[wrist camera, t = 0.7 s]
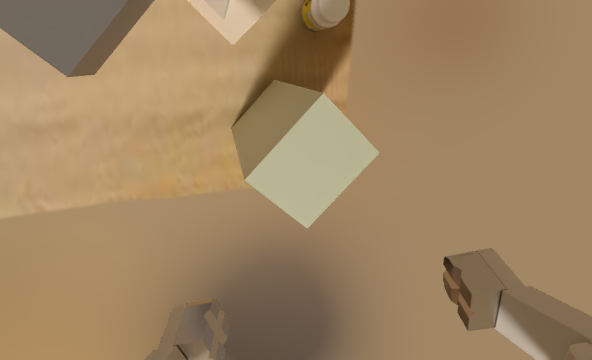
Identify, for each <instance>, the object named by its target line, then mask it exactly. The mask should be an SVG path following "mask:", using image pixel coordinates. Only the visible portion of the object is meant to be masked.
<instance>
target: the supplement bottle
mask: <svg viewBox="0 0 592 360" xmlns="http://www.w3.org/2000/svg"><path fill="white" fill-rule="evenodd" d="M349 6H350V1H349V0H305V1H304V2H303V4H302V6H301V10H300V17H301V20H302V23H303V24H304V26H305V27H306V28H307V29H309V30H311V31H321V30H324V29H327V28H330V27H333V26H335V25H337V24H338V23H339V22H340V21H341V20H342V19H343V18H344V17H345V16H346V15H347V13H348V11H349Z"/></svg>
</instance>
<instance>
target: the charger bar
mask: <svg viewBox="0 0 592 360" xmlns="http://www.w3.org/2000/svg"><path fill="white" fill-rule="evenodd" d="M153 1H154V0H0V28H1V29H2V30H4V31H5V32H6V33H8V34H9V35H10V36H12V37H13V38H15V39H16V40H17V41H19V42H20V43H22V44H23V45H24V46H26V47H27V48H28V49H30V50H31V51H33V52H34V53H35V54H37V55H38V56H39V57H41V58H42V59H44V60H45V61H46V62H48V63H49V64H50V65H52V66H53V67H55V68H56V69H57V70H59V71H60V72H61V73H63V74H64V75H66V76H67V77H73V76H84V75H95V74H96V72H97V71H98V70H99V69H100V67H101V66H102V65H103V64H104V62H105V61H106V60H107V59H108V57H109V56H110V55H111V54H112V52H113V51H114V50H115V49H116V47H117V46H118V45H119V44H120V42H121V41H122V40H123V39H124V37H125V36H126V35H127V34H128V32H129V31H130V30H131V29H132V27H133V26H134V25H135V24H136V22H137V21H138V20H139V19H140V17H141V16H142V15H143V14H144V12H145V11H146V10H147V9H148V7H149V6H150V5H151V4H152V2H153Z"/></svg>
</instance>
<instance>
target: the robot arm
mask: <svg viewBox="0 0 592 360" xmlns="http://www.w3.org/2000/svg"><path fill="white" fill-rule="evenodd" d="M443 265H444V266H445V268H446V271H445V272H444V273H443V282H444V287H445V290H446V292H447V294H448V296H449V298H450V300H451V301H452V302H454V303H455V304H457V305H458V314H459V316H460V318H461V320H462V322H463V323H464V325H465V327H466V329H467V330H468V331H472V330H480V329H487V328H495V327H496V328H495V329H496V330H497V331H499V332H500V333H501V334H503V335H504V336H505V337H507V338H508V339H509V340H511V341H512V342H513V343H515V344H516V345H517V346H519V347H520V348H521V349H523V350H524V351H525V352H527V353H528V354H529V355H531V356H532V357H534V358H535V359H536V360H592V316H590V315H588V314H586V313H584V312H582V311H580V310H578V309H576V308H573V307H572V306H570V305H568V304H566V303H564V302H562V301H559V300H558V299H556V298H554V297H552V296H550V295H548V294H546V293H544V292H542V291H539V290H538V289H535V288H534V287H532V286H527V287H525V285H524V284H523V283H522V282H521V281H520V280H519V278H518V277H517V276H516V275H515V274H514V273H513V272H512V270H511V269H510V268H509V267H508V265H507V264H506V263H505V262H504V261H503V260H502V259H501V257H500V256H499V255H498V254H497V253H496V252H495V250H493V249H492V248H489V249H483V250H479V251H471V252H466V253H461V254H456V255H451V256H446V257H445V258H444V262H443ZM219 308H220V303H219V302H218V300H217V299H211V300H204V301H197V302H191V303H185V304H179V305H175V306H174V308H173V309H172V311H171V313H170V316H169V319H168V322H167V325H166V328H165V330H164V333H163V336H162V338H161V341H160V344H159V347H158V349H156V350H153V351H152V352H151V353H150V354H149V355H148V357H147V358H146V359H145V360H224V356H225V350H224V348H223V346H222V345H223V344H224V343H225V341H226V340H227V337H228V331H229V330H228V320H227V316H226V314H225V312H223V311H221V310H219Z"/></svg>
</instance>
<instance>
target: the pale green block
mask: <svg viewBox="0 0 592 360" xmlns="http://www.w3.org/2000/svg"><path fill="white" fill-rule="evenodd" d="M231 129H232V133H233V137H234V141H235V145H236V149H237V153H238V157H239V160H240V164H241V168H242V172H243V176H244V180H245V181H246V182H248V183H249V184H250V185H251V186H253V187H254V188H255V189H257V190H258V191H259V192H261V193H262V194H263V195H264V196H266V197H267V198H268V199H270V200H271V201H272V202H274V203H275V204H276V205H277V206H279V207H280V208H281V209H282V210H284V211H285V212H287V213H288V214H289V215H290V216H292V217H293V218H294V219H296V220H297V221H298V222H299V223H301V224H302V225H303V226H305V227H306V228H308V227H309V226H310V225H311V224H312V223H313V222H314V221H315V220H316V219H317V218H318V217H319V216H320V215H321V214H322V213H323V212H324V210H325V209H326V208H327V207H328V206H329V205H330V204H331V203H332V202H333V201H334V200H335V199H336V198H337V197H338V196H339V195H340V193H342V192H343V191H344V190H345V188H346V187H347V186H348V185H349V184H350V183H351V182H352V181H353V180H354V179H355V178H356V177H357V176H358V175H359V174H360V172H362V171H363V170H364V169H365V167H366V166H367V165H368V164H369V163H370V162H371V161H372V160H373V159H374V158H375V157H376V156H377V155H378V154H379V152H378V151H377V150H376V149H375V148H374V147H373V146H372V145H371V143H370V142H369V141H368V140H367V139H366V138H365V137H364V136H363V135H362V134H361V133H360V132H359V131H358V129H357V128H356V127H355V126H354V125H353V124H352V123H351V122H350V121H349V120H348V119H347V118H346V117H345V115H344V114H343V113H342V112H341V111H340V110H339V109H338V108H337V107H336V106H335V105H334V104H333V103H332V101H331V100H330V99H329V98H328V97H327V96H326V95H325V94H324V93H322V92H318V91H314V90H311V89H307V88H303V87H300V86H296V85H292V84H289V83H285V82H281V81H277V80H273V81H272V83H271V84H270V85H269V86H268V87H267V88H266V89H265V90H264V92H263V93H262V94H261V95H260V96H259V97H258V98H257V100H256V101H255V102H254V103H253V104H252V105H251V106H250V108H249V109H248V110H247V111H246V112H245V113H244V114H243V115H242V117H241V118H240V119H239V120H238V121H237V122H236V123H235V125H234V126H233V127H232V128H231Z"/></svg>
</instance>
